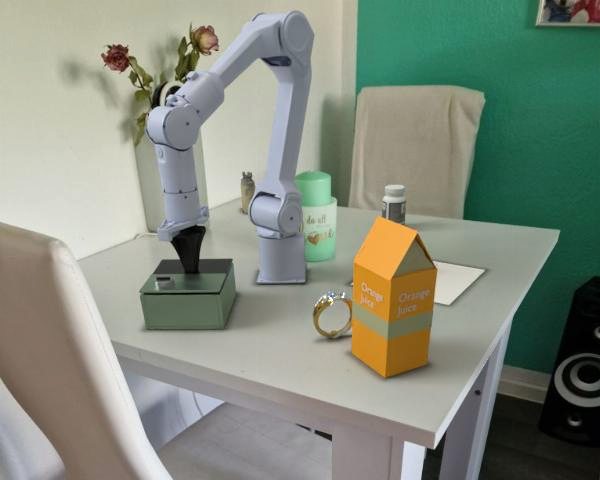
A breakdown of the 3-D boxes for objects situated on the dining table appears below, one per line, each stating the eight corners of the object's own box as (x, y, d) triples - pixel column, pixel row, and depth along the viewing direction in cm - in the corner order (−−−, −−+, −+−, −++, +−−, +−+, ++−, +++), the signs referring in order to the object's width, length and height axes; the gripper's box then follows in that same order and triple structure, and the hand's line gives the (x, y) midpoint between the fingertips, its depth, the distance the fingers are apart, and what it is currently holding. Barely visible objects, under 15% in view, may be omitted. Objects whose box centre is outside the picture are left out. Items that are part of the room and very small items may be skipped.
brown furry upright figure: (258, 213, 153) (255, 175, 148) (244, 214, 152) (241, 176, 147) (253, 207, 159) (250, 169, 153) (240, 208, 158) (237, 171, 153)
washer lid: (162, 261, 103) (162, 259, 103) (232, 260, 102) (232, 258, 102) (152, 277, 97) (151, 274, 96) (226, 276, 96) (226, 273, 96)
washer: (167, 294, 106) (162, 259, 103) (236, 293, 106) (232, 258, 102) (146, 329, 94) (138, 291, 90) (223, 329, 93) (219, 290, 89)
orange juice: (392, 340, 88) (400, 211, 77) (428, 364, 81) (443, 226, 70) (350, 353, 85) (353, 220, 74) (384, 378, 78) (393, 237, 67)
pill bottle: (408, 227, 138) (411, 185, 133) (398, 233, 134) (401, 190, 129) (386, 224, 141) (389, 183, 136) (377, 230, 137) (379, 188, 132)
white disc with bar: (215, 282, 93) (214, 273, 92) (212, 290, 90) (211, 280, 89) (157, 283, 94) (156, 273, 93) (152, 290, 91) (150, 280, 90)
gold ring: (352, 330, 91) (353, 284, 87) (358, 339, 89) (359, 292, 84) (310, 336, 90) (309, 289, 86) (315, 344, 87) (315, 297, 83)
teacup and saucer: (440, 269, 113) (442, 250, 111) (425, 282, 107) (427, 262, 105) (400, 262, 117) (402, 243, 115) (384, 274, 112) (385, 254, 109)
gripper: (180, 201, 84) (192, 287, 91) (221, 180, 95) (229, 258, 103) (139, 199, 85) (154, 283, 93) (184, 179, 97) (194, 255, 104)
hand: (191, 270), depth 98 cm, fingers closed, pressing on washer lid
